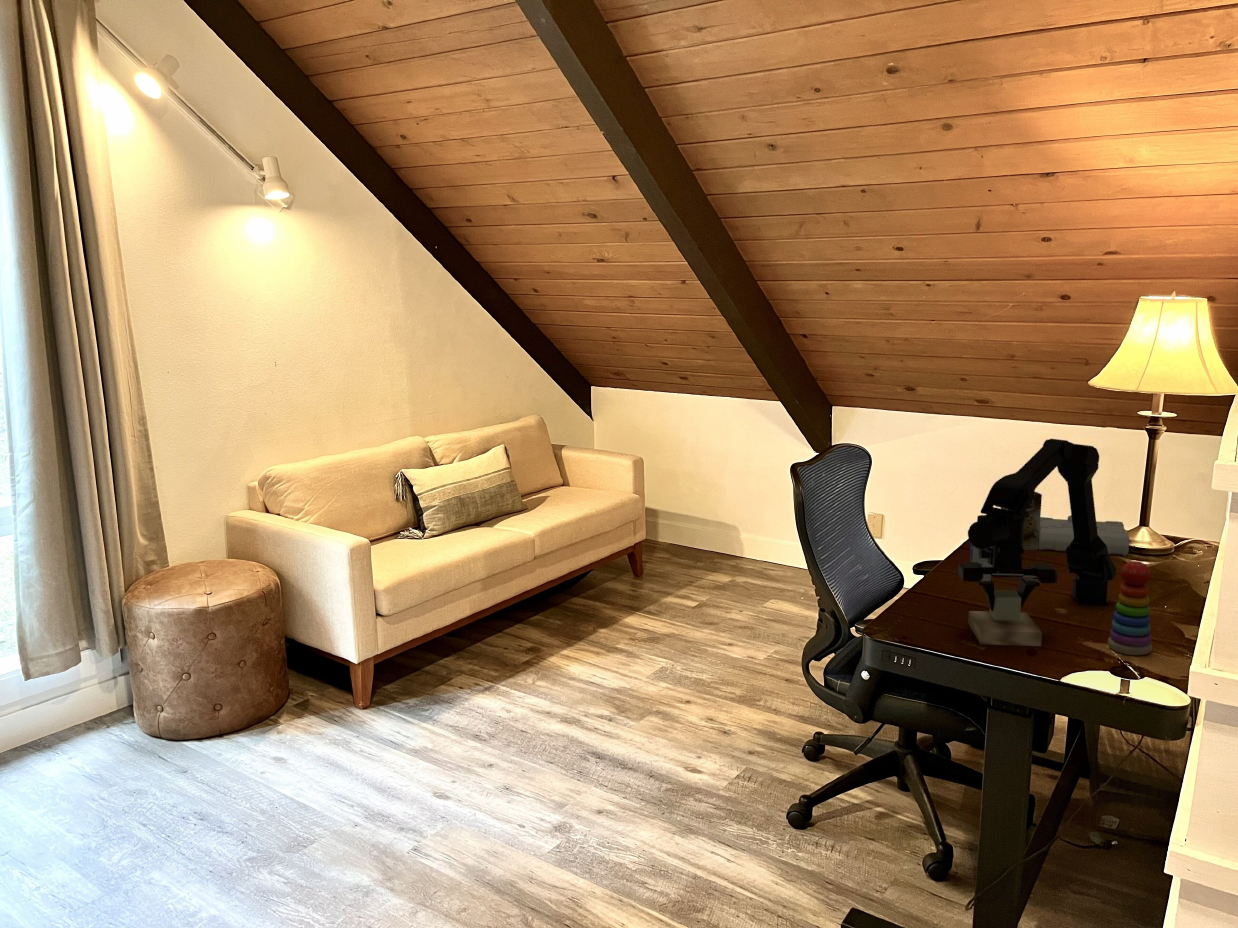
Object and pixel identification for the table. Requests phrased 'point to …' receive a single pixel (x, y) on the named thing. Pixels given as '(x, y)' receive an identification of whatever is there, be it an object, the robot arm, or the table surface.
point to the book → (1061, 535)
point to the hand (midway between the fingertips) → (1004, 610)
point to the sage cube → (1006, 605)
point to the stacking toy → (1132, 612)
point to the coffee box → (1032, 524)
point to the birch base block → (1004, 630)
